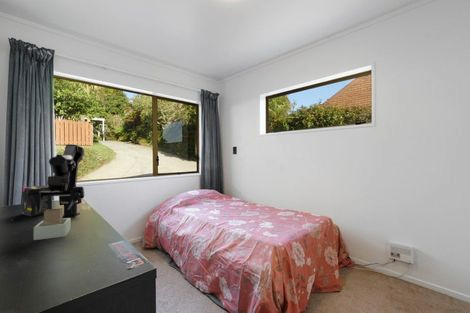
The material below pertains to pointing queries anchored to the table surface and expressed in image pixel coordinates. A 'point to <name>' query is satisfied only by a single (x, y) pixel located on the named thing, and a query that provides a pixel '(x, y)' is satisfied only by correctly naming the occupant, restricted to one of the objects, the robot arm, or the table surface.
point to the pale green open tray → (52, 230)
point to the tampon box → (30, 207)
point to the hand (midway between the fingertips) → (53, 210)
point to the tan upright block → (53, 217)
